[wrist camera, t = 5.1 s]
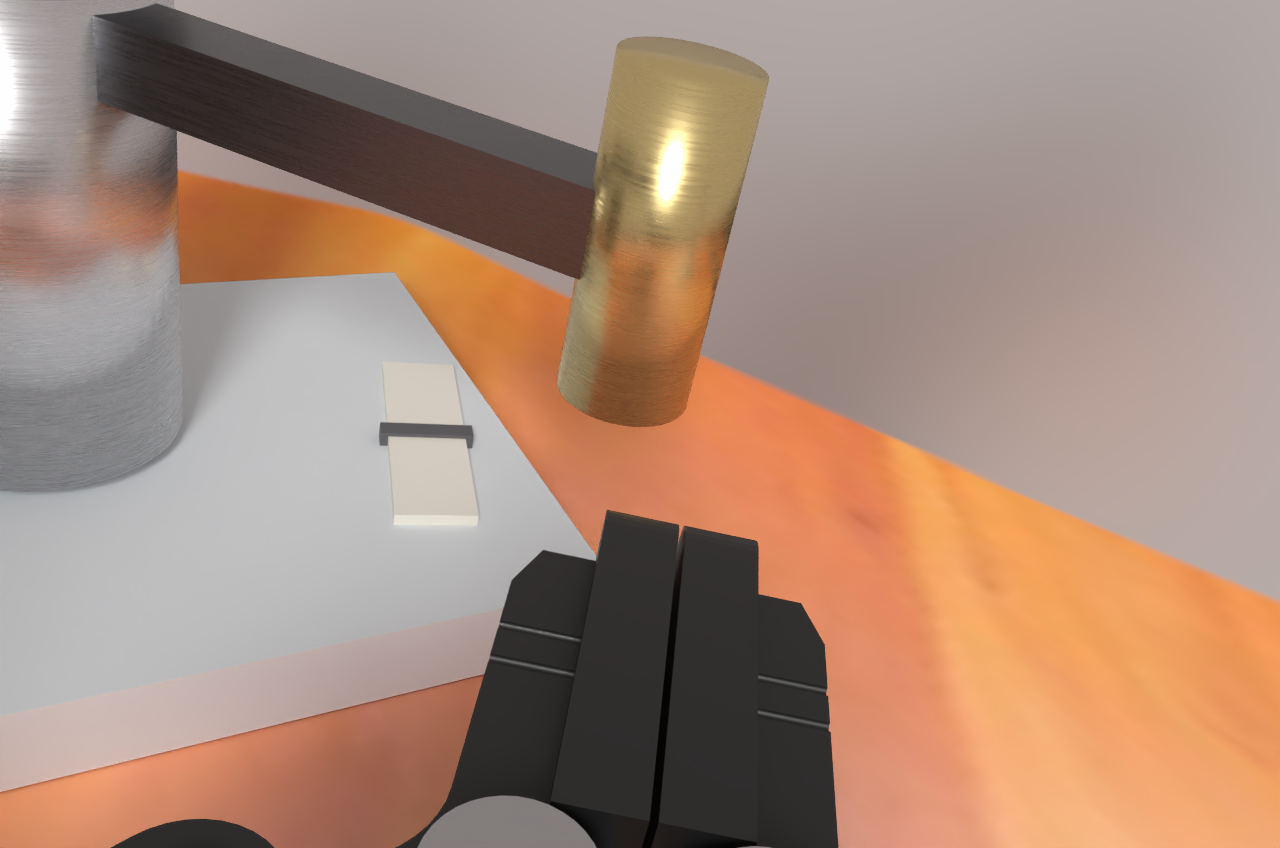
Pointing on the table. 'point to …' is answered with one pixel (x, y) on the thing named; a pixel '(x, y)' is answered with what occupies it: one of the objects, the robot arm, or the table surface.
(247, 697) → the stand
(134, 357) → the capstan
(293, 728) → the table surface
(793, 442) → the table surface
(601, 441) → the table surface
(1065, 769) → the table surface
